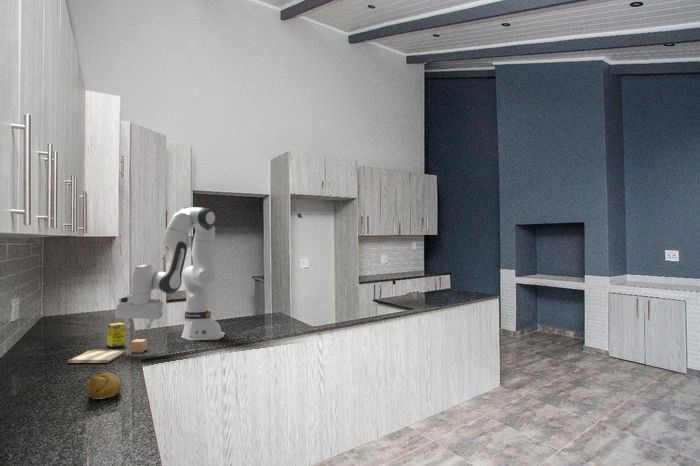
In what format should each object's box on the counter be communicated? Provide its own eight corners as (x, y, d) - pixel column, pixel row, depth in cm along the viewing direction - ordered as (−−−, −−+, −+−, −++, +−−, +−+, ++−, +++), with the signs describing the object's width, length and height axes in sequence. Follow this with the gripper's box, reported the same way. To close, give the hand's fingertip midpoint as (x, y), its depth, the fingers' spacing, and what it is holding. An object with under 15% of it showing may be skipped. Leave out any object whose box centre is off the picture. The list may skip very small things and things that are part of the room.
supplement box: (111, 348, 188) (112, 325, 188) (106, 346, 191) (107, 323, 191) (124, 346, 192) (126, 323, 193) (119, 344, 196) (120, 322, 196)
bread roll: (91, 390, 137) (92, 367, 137) (123, 386, 141) (124, 364, 141) (84, 404, 125) (85, 379, 125) (119, 400, 129) (120, 375, 129)
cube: (146, 349, 188) (146, 339, 188) (141, 352, 183) (142, 341, 183) (135, 349, 187) (135, 339, 188) (130, 352, 182) (131, 341, 183)
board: (125, 353, 181) (125, 349, 181) (107, 363, 165) (107, 360, 165) (89, 352, 179) (89, 349, 179) (67, 363, 163) (67, 360, 163)
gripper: (165, 298, 190) (163, 327, 189) (121, 296, 188) (119, 325, 187) (160, 300, 183) (158, 330, 183) (115, 298, 181) (112, 328, 181)
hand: (138, 327), depth 185 cm, fingers open, 8 cm apart
